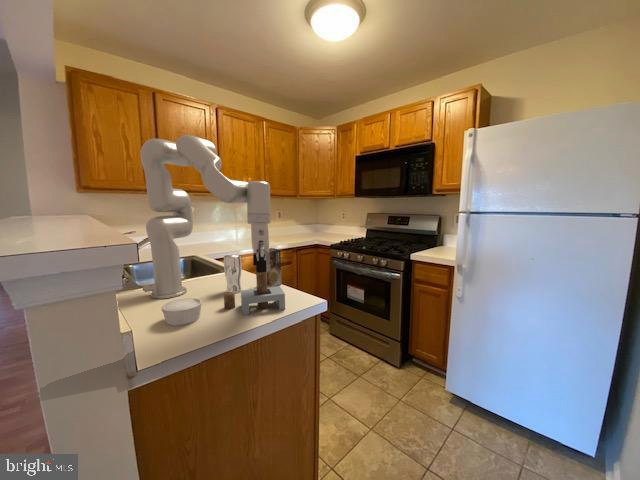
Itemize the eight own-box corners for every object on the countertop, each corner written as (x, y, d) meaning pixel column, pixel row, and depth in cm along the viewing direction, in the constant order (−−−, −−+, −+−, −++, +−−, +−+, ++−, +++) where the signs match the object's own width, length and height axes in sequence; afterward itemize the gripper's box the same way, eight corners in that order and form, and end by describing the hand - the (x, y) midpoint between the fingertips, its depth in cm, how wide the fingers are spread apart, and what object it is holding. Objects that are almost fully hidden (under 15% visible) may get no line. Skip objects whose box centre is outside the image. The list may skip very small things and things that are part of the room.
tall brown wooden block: (258, 309, 92) (256, 267, 90) (257, 305, 95) (255, 264, 93) (268, 308, 93) (267, 266, 91) (267, 304, 97) (265, 263, 95)
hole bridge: (243, 315, 88) (242, 298, 87) (241, 305, 96) (240, 290, 95) (285, 309, 92) (284, 293, 92) (280, 300, 101) (279, 286, 100)
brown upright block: (224, 310, 92) (223, 296, 91) (224, 306, 96) (223, 292, 95) (235, 308, 93) (234, 294, 93) (235, 304, 97) (234, 291, 96)
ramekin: (208, 319, 85) (206, 303, 84) (168, 331, 77) (167, 314, 76) (195, 309, 93) (194, 295, 92) (159, 319, 85) (157, 303, 84)
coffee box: (272, 282, 124) (271, 247, 122) (282, 284, 120) (281, 249, 118) (256, 286, 117) (255, 250, 115) (266, 289, 113) (264, 252, 111)
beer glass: (224, 294, 108) (222, 257, 106) (226, 289, 114) (224, 254, 112) (242, 293, 109) (240, 257, 107) (243, 287, 116) (241, 253, 114)
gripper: (274, 221, 83) (274, 274, 86) (266, 217, 99) (266, 262, 102) (249, 221, 81) (250, 276, 83) (245, 217, 97) (246, 263, 99)
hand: (259, 268), depth 93 cm, fingers open, 9 cm apart
